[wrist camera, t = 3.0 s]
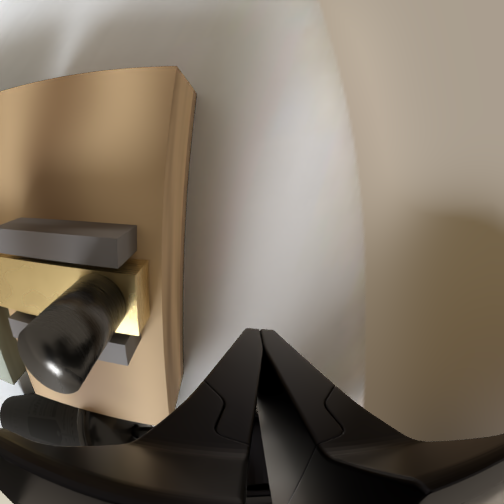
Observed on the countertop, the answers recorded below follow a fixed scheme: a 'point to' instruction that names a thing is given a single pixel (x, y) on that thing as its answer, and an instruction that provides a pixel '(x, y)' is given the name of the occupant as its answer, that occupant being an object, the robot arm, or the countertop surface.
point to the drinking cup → (65, 423)
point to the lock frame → (103, 216)
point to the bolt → (72, 313)
